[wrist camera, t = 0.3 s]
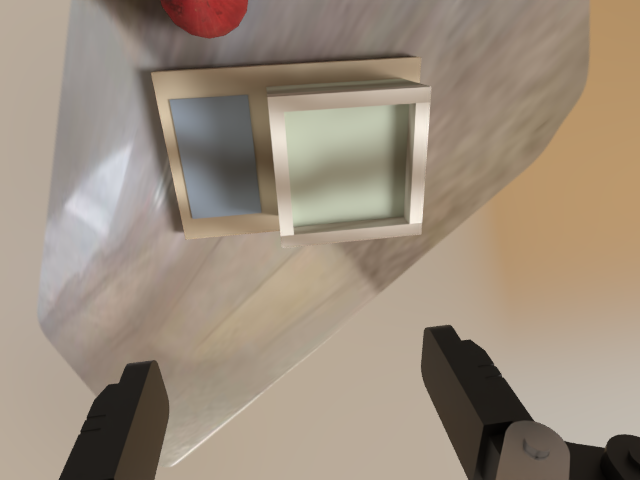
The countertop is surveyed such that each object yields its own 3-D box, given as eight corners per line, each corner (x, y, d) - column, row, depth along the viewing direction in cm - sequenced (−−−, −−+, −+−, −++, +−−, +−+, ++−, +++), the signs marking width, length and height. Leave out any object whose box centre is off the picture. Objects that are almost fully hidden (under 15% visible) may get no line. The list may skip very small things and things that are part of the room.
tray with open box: (155, 71, 33) (125, 80, 26) (415, 56, 35) (454, 61, 28) (188, 232, 39) (171, 276, 32) (407, 212, 41) (438, 249, 34)
